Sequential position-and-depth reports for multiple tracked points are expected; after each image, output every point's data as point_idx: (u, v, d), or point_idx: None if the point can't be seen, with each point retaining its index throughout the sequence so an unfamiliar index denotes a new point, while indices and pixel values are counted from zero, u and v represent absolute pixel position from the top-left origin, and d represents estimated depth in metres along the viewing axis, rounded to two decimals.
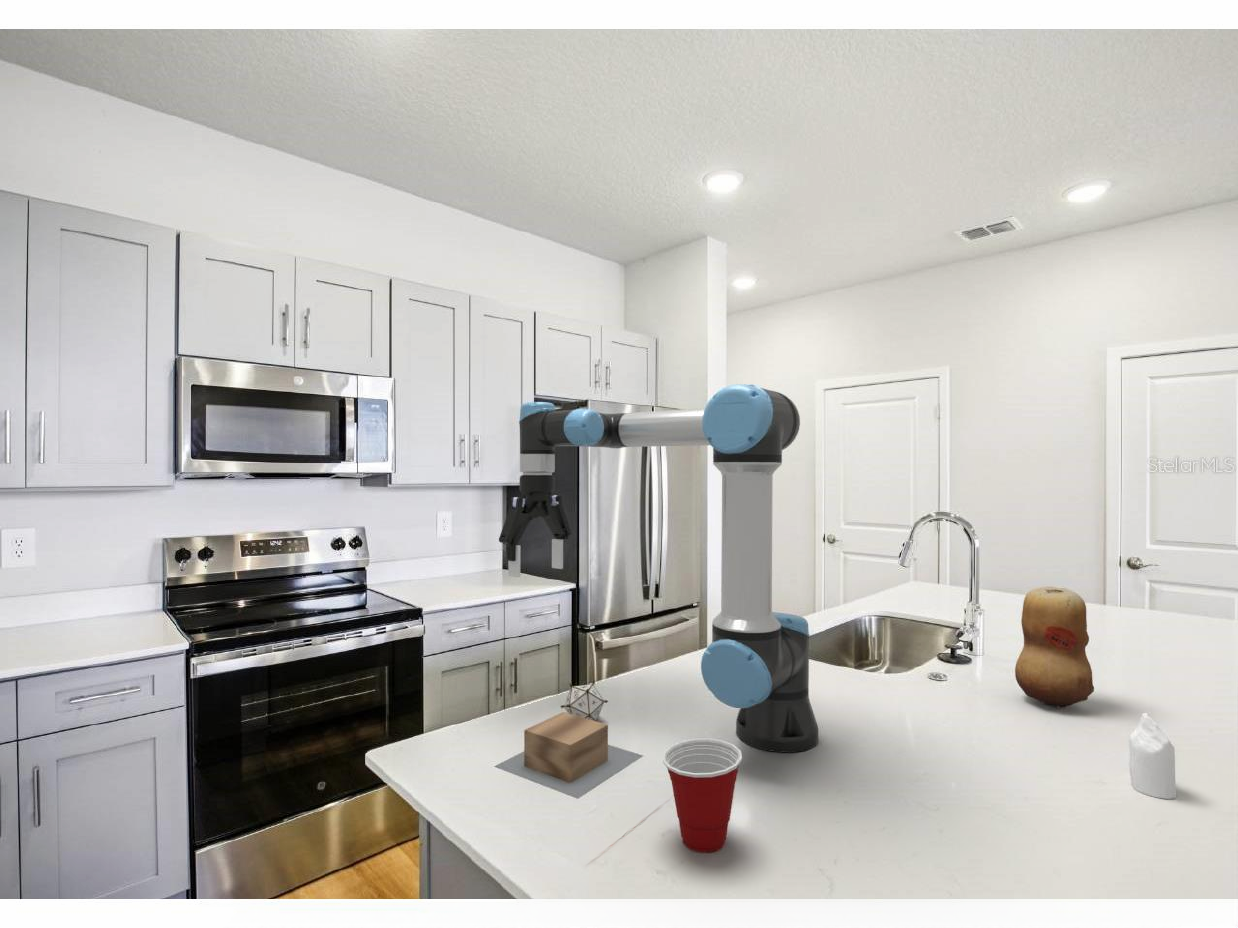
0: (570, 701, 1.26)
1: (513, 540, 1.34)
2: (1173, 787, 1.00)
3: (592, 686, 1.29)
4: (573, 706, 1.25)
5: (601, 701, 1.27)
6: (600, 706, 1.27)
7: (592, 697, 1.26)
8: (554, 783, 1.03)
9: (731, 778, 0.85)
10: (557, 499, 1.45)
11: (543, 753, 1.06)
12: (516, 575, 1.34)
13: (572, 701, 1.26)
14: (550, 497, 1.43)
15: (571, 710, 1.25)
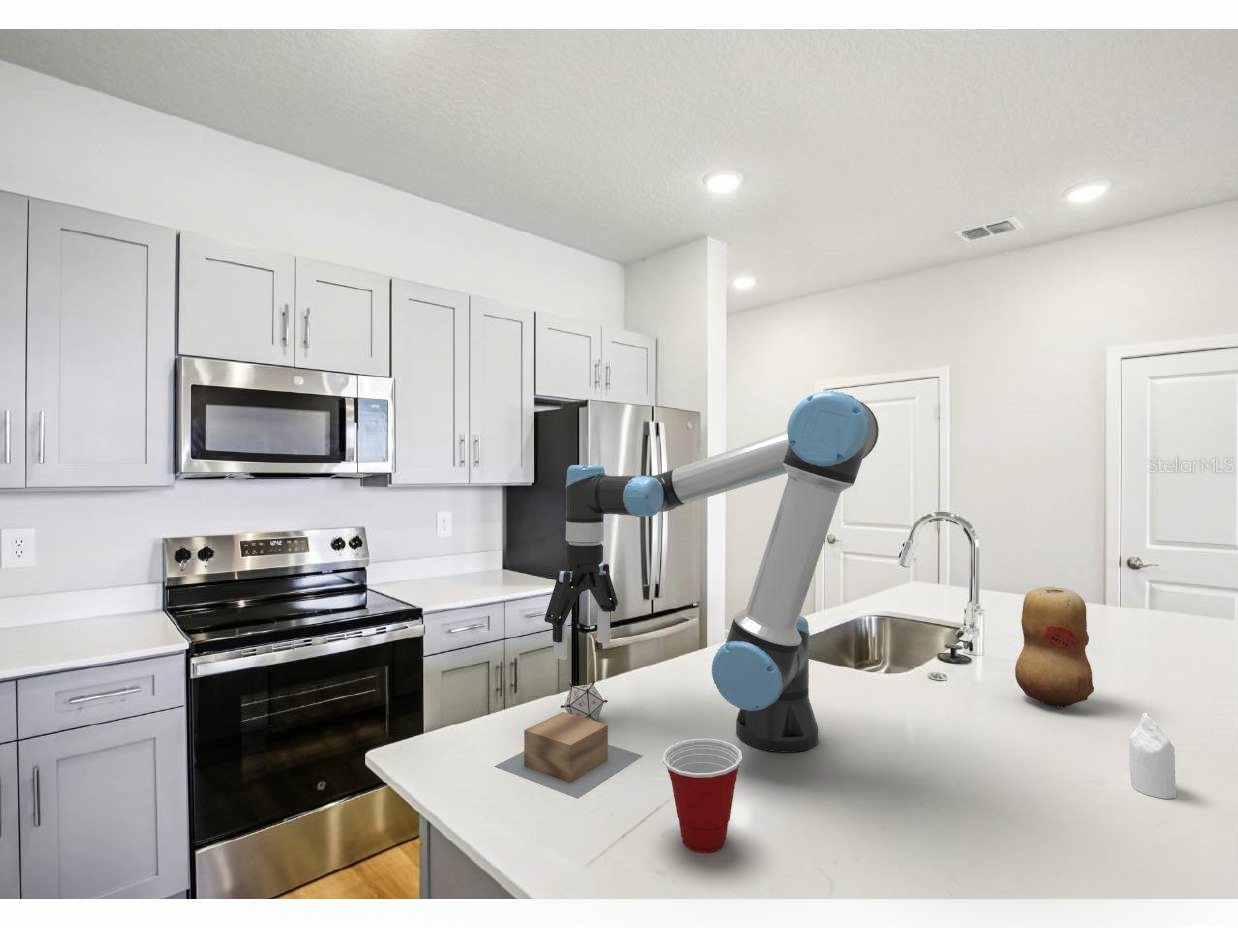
0: (570, 701, 1.26)
1: (560, 620, 1.21)
2: (1173, 787, 1.00)
3: (592, 686, 1.29)
4: (573, 706, 1.25)
5: (601, 701, 1.27)
6: (600, 706, 1.27)
7: (592, 697, 1.26)
8: (554, 783, 1.03)
9: (731, 778, 0.85)
10: (604, 568, 1.32)
11: (543, 753, 1.06)
12: (562, 658, 1.22)
13: (572, 701, 1.26)
14: (598, 567, 1.30)
15: (571, 710, 1.25)
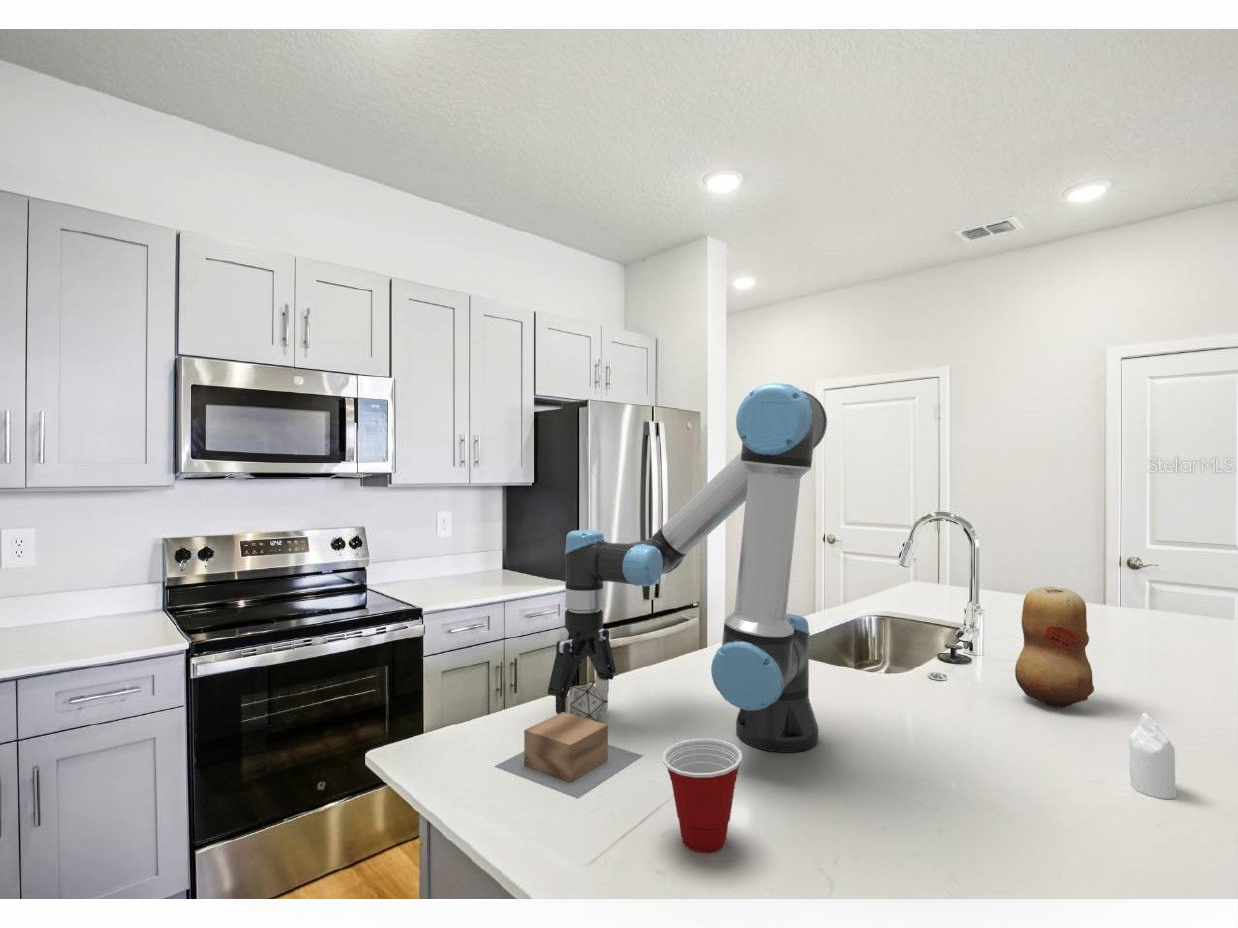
0: None
1: (563, 692, 1.22)
2: (1173, 787, 1.00)
3: (592, 686, 1.29)
4: (573, 706, 1.25)
5: (601, 701, 1.27)
6: (600, 706, 1.27)
7: (592, 697, 1.26)
8: (554, 783, 1.03)
9: (731, 778, 0.85)
10: (604, 634, 1.32)
11: (543, 753, 1.06)
12: None
13: (572, 701, 1.26)
14: (598, 632, 1.30)
15: (571, 710, 1.25)
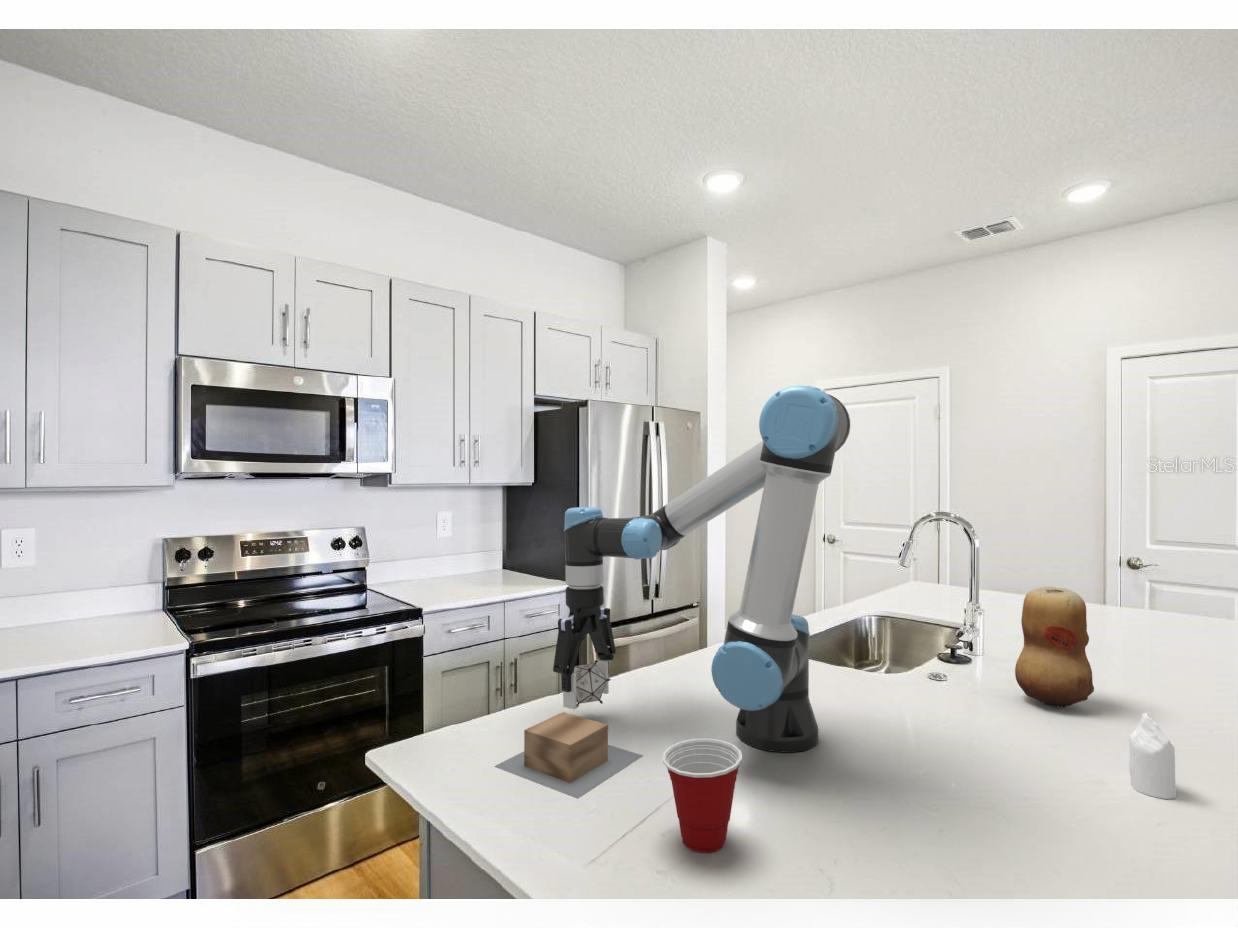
0: None
1: (568, 670, 1.22)
2: (1173, 787, 1.00)
3: (594, 665, 1.29)
4: None
5: (604, 679, 1.27)
6: (603, 684, 1.27)
7: (594, 676, 1.26)
8: (554, 783, 1.03)
9: (731, 778, 0.85)
10: (605, 612, 1.32)
11: (543, 753, 1.06)
12: (572, 707, 1.23)
13: None
14: (599, 609, 1.30)
15: None
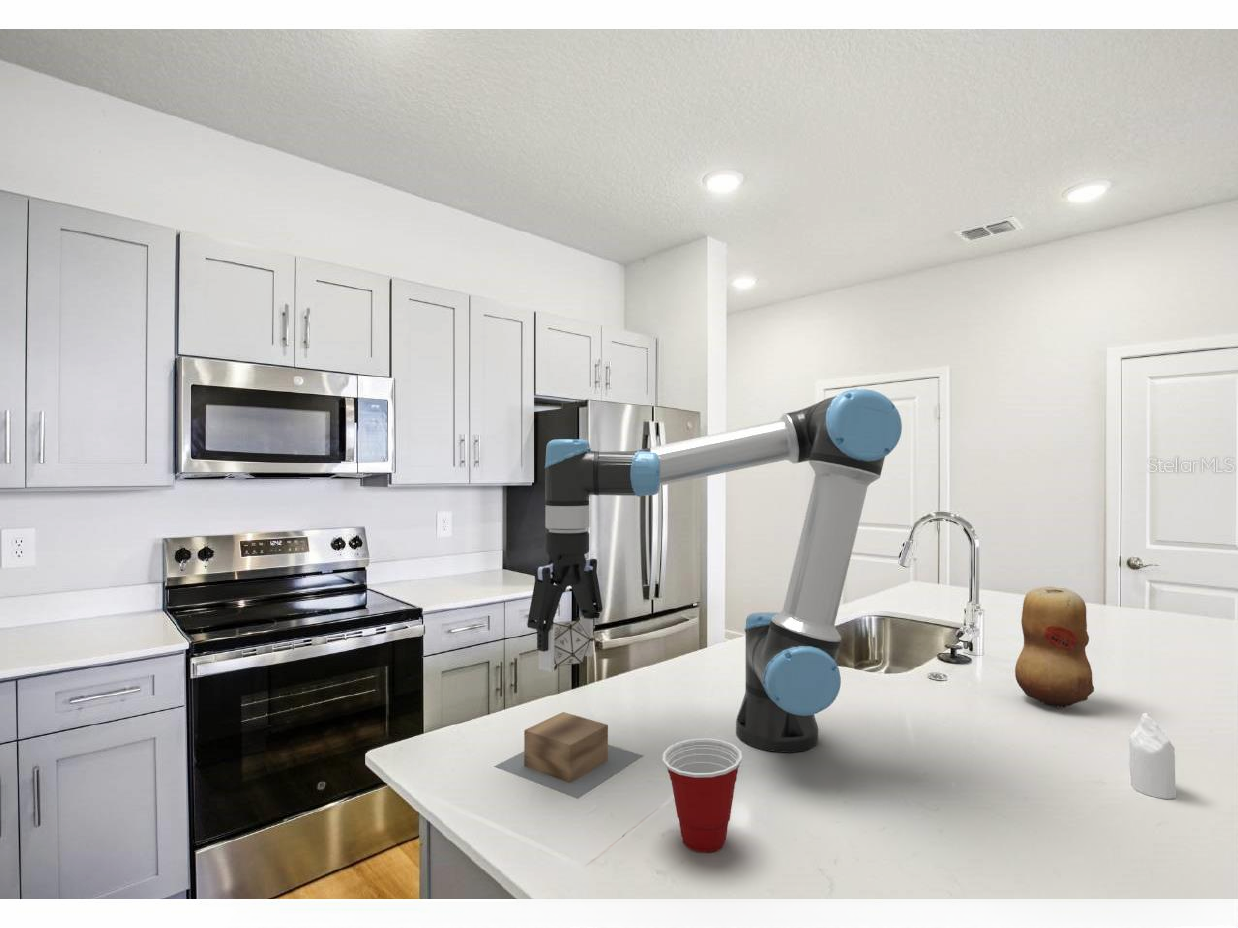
0: None
1: (545, 625, 1.04)
2: (1173, 787, 1.00)
3: (577, 623, 1.11)
4: None
5: (587, 639, 1.09)
6: (586, 645, 1.09)
7: (576, 634, 1.08)
8: (554, 783, 1.03)
9: (731, 778, 0.85)
10: (591, 563, 1.14)
11: (543, 753, 1.06)
12: (549, 669, 1.05)
13: None
14: (584, 559, 1.12)
15: None
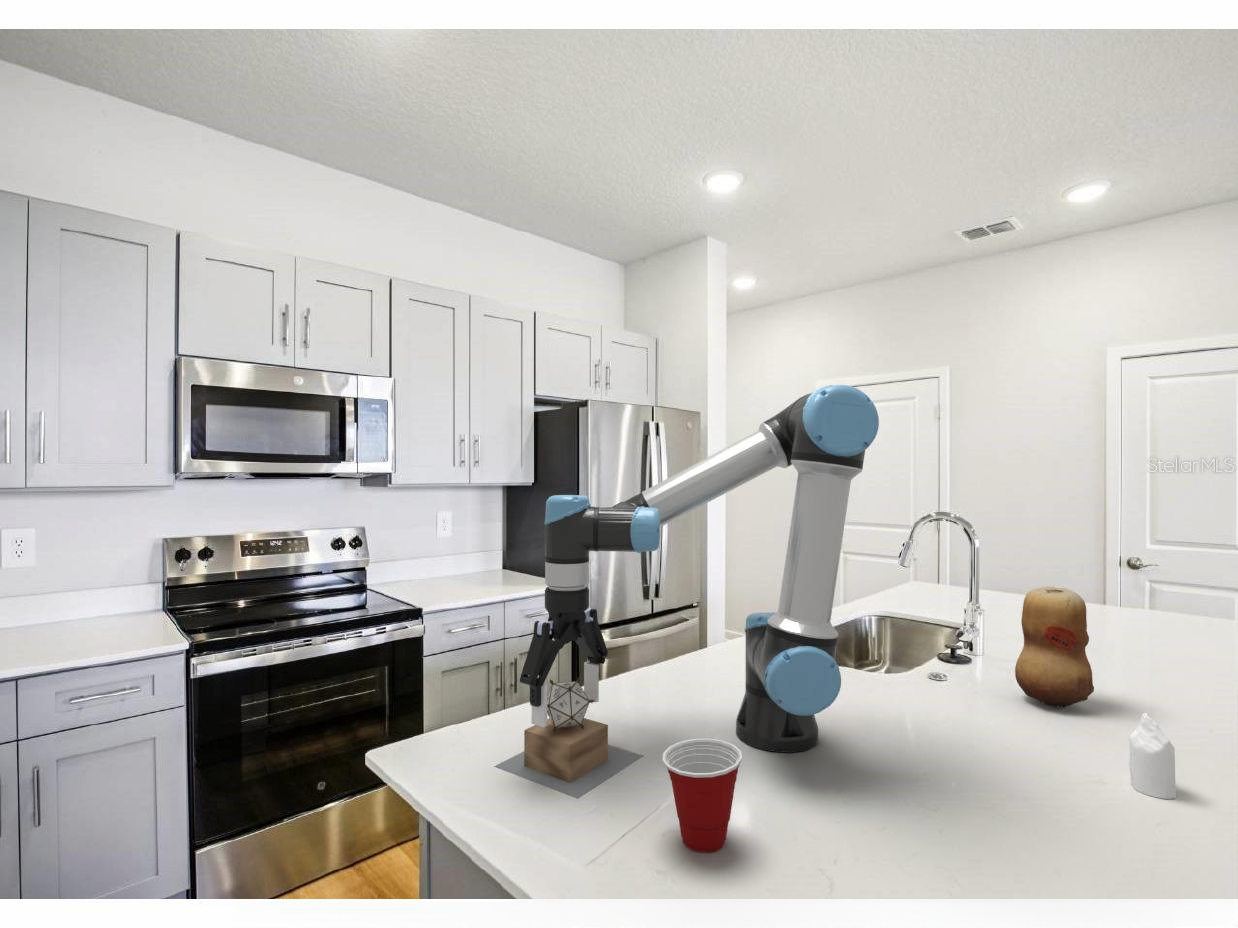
0: (550, 701, 1.08)
1: (538, 680, 1.03)
2: (1173, 787, 1.00)
3: (576, 683, 1.11)
4: (552, 707, 1.07)
5: (586, 701, 1.09)
6: (585, 707, 1.08)
7: (575, 697, 1.08)
8: (554, 783, 1.03)
9: (731, 778, 0.85)
10: (591, 614, 1.14)
11: (543, 753, 1.06)
12: (542, 725, 1.04)
13: (552, 701, 1.07)
14: (583, 614, 1.12)
15: (551, 711, 1.07)
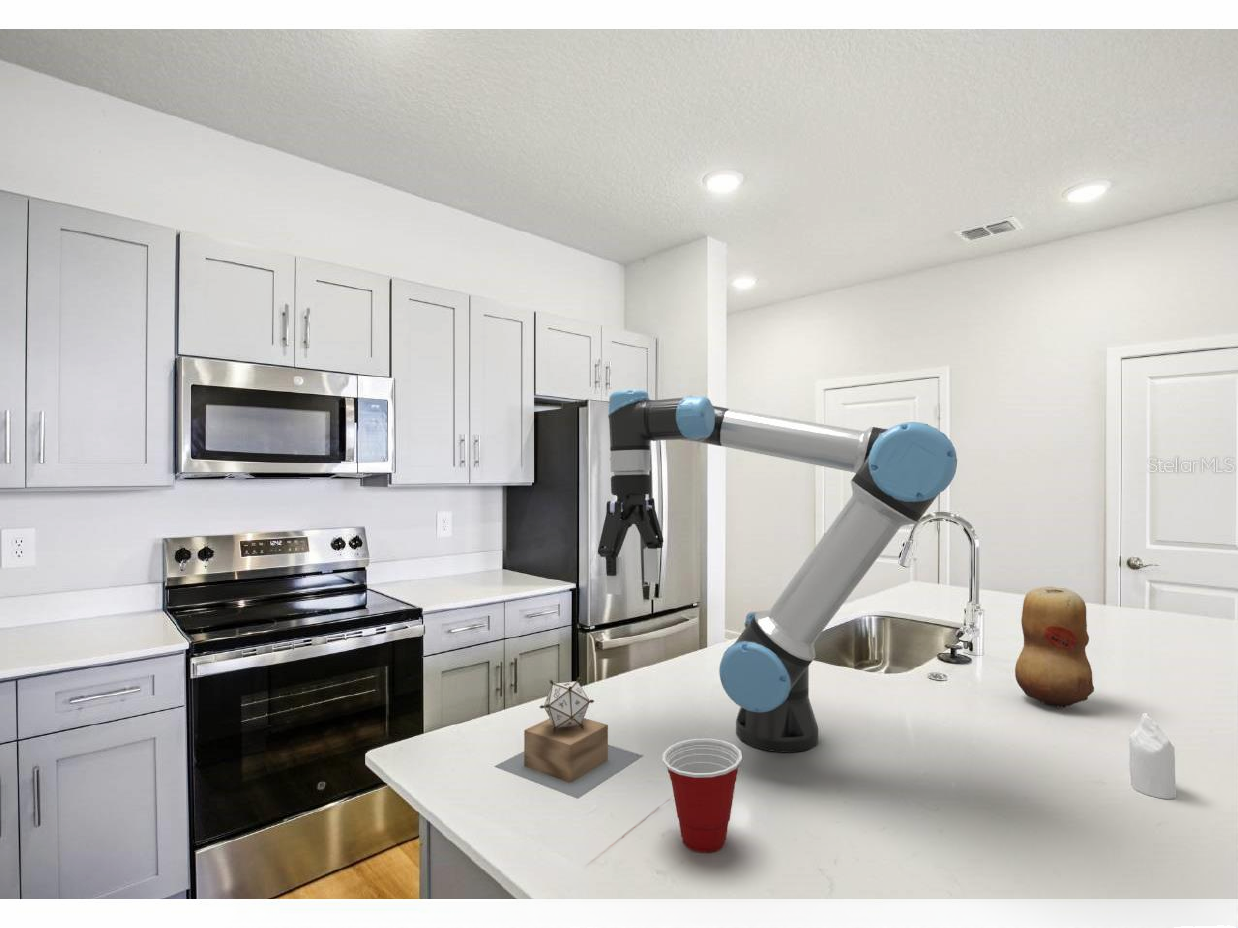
0: (550, 701, 1.08)
1: (614, 551, 1.14)
2: (1173, 787, 1.00)
3: (576, 683, 1.11)
4: (552, 707, 1.07)
5: (586, 701, 1.09)
6: (585, 707, 1.08)
7: (575, 697, 1.08)
8: (554, 783, 1.03)
9: (731, 778, 0.85)
10: (650, 502, 1.26)
11: (543, 753, 1.06)
12: (618, 593, 1.14)
13: (552, 701, 1.07)
14: (644, 500, 1.23)
15: (551, 711, 1.07)
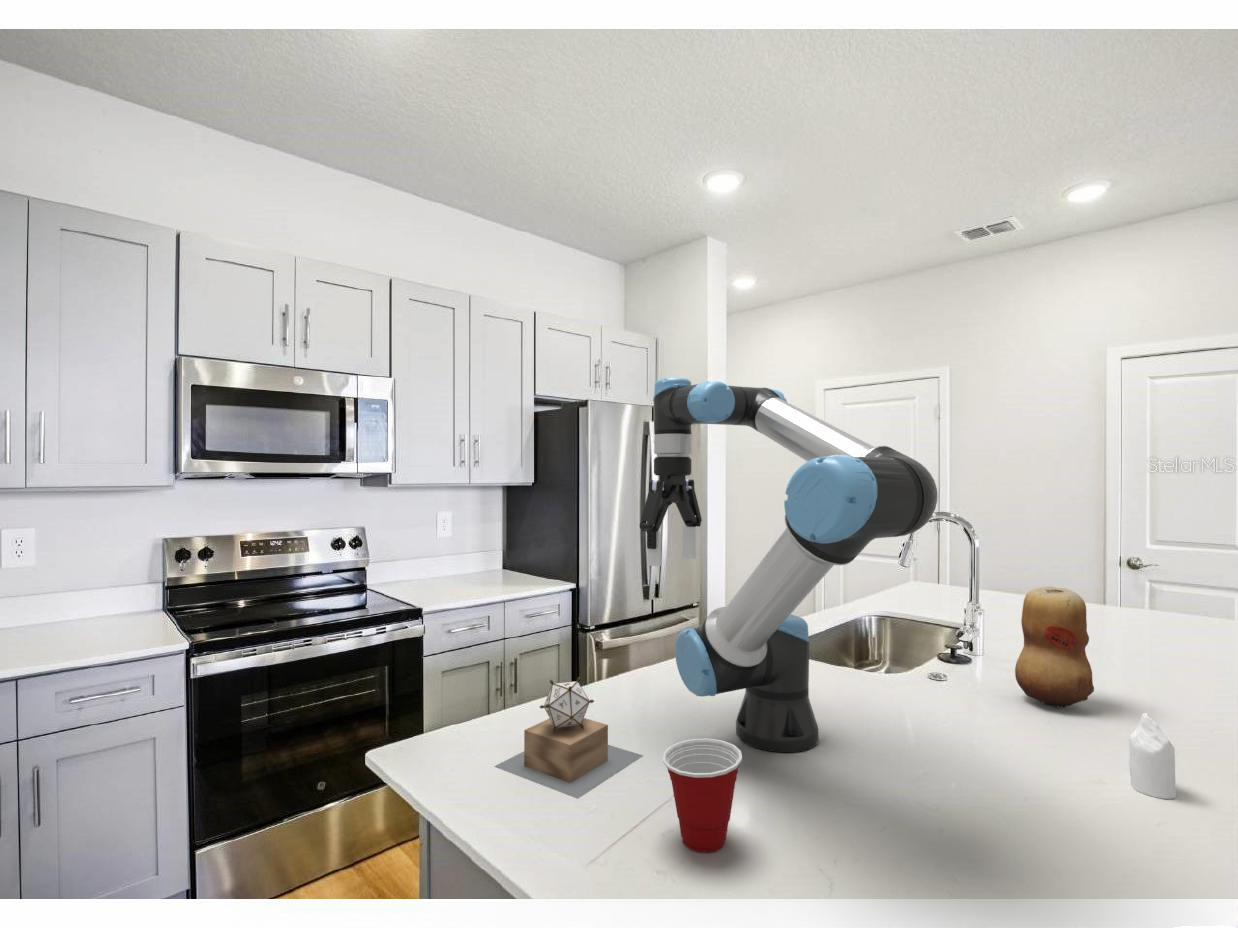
0: (550, 701, 1.08)
1: (655, 526, 1.23)
2: (1173, 787, 1.00)
3: (576, 683, 1.11)
4: (552, 707, 1.07)
5: (586, 701, 1.09)
6: (585, 707, 1.08)
7: (575, 697, 1.08)
8: (554, 783, 1.03)
9: (731, 778, 0.85)
10: (690, 483, 1.35)
11: (543, 753, 1.06)
12: (657, 564, 1.24)
13: (552, 701, 1.07)
14: (685, 481, 1.33)
15: (551, 711, 1.07)
